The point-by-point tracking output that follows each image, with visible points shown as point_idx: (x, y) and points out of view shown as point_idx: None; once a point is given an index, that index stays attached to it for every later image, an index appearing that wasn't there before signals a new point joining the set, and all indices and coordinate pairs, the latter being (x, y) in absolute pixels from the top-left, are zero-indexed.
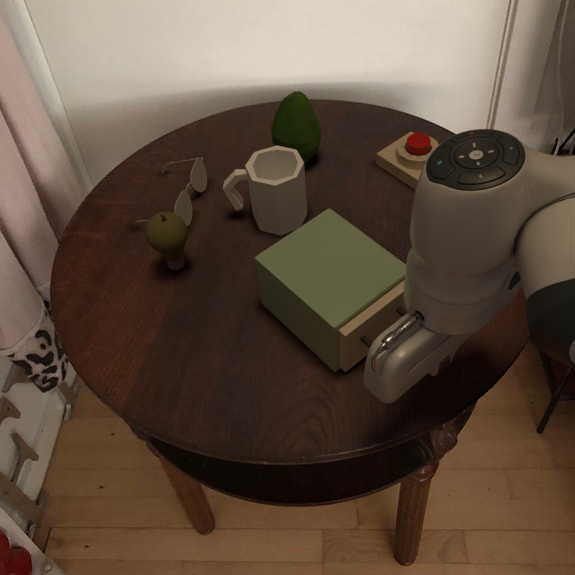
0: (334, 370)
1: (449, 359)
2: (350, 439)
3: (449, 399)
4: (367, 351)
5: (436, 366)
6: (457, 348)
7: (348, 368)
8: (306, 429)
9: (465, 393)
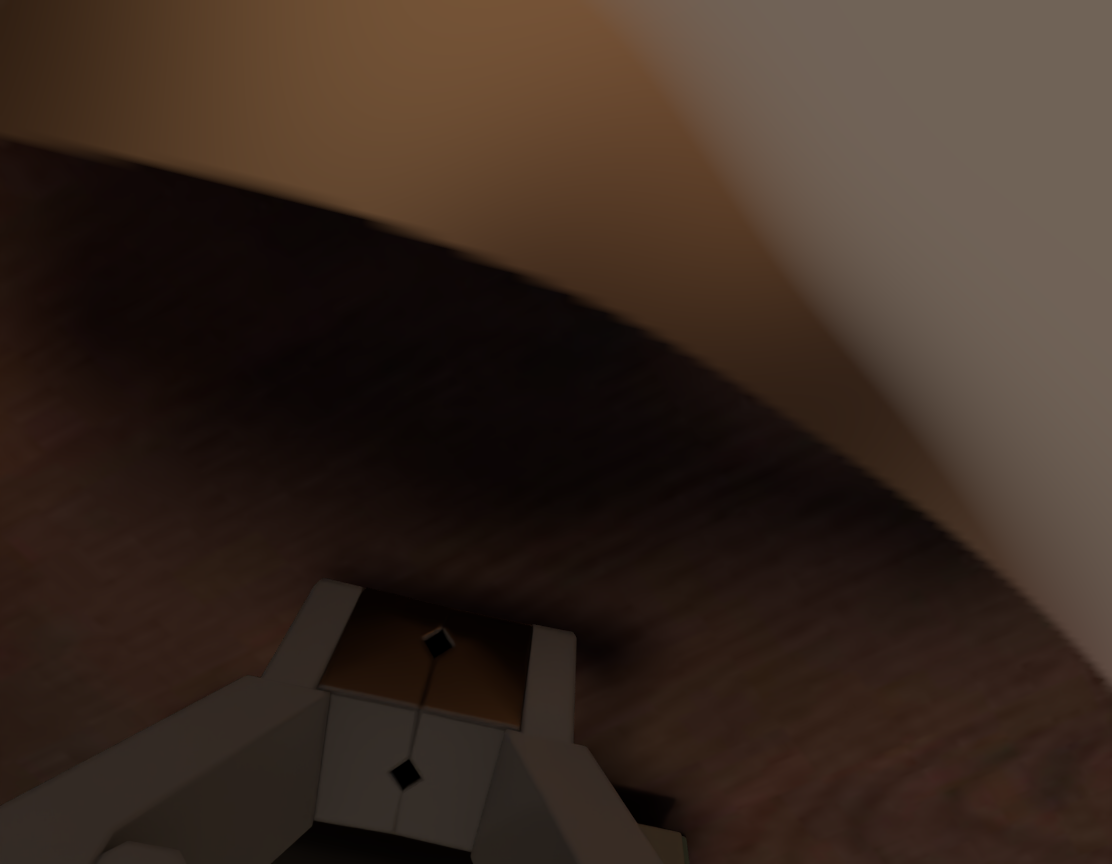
0: (687, 855)
1: (348, 654)
2: (1005, 641)
3: (482, 325)
4: None
5: (586, 811)
6: (177, 733)
7: (663, 843)
8: (1035, 806)
9: (380, 260)
